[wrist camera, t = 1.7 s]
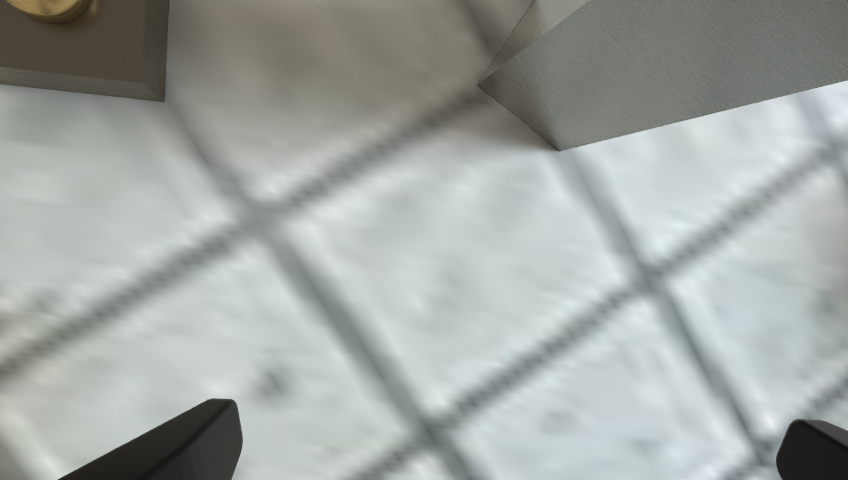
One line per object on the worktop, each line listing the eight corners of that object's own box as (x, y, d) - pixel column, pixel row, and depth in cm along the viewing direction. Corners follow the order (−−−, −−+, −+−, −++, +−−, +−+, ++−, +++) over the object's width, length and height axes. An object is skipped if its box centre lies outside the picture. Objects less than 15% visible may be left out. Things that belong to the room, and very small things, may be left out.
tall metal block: (560, 151, 21) (949, 54, 8) (477, 84, 20) (776, -140, 7) (615, 66, 21) (1065, -149, 9) (536, -4, 20) (917, -360, 8)
